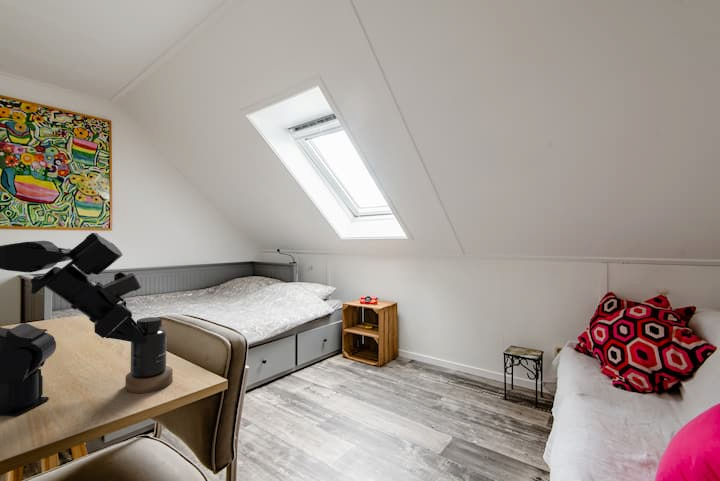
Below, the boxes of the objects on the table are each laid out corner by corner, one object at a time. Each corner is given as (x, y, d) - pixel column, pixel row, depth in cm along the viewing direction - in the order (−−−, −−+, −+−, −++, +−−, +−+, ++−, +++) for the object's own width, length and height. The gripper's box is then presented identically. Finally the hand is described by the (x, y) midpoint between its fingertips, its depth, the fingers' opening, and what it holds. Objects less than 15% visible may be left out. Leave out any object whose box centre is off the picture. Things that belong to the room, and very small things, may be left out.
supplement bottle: (168, 375, 79) (168, 320, 78) (131, 382, 75) (131, 324, 75) (164, 365, 84) (164, 314, 84) (129, 371, 81) (130, 317, 80)
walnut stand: (156, 394, 75) (156, 382, 75) (115, 392, 76) (115, 380, 75) (180, 376, 84) (180, 366, 84) (143, 375, 84) (143, 364, 84)
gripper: (117, 265, 68) (180, 316, 75) (111, 258, 83) (164, 301, 90) (62, 311, 63) (135, 361, 70) (67, 295, 78) (126, 337, 85)
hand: (142, 336), depth 79 cm, fingers open, 9 cm apart
